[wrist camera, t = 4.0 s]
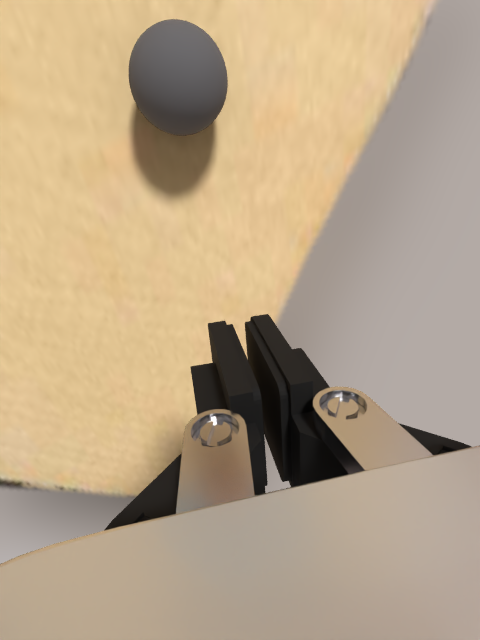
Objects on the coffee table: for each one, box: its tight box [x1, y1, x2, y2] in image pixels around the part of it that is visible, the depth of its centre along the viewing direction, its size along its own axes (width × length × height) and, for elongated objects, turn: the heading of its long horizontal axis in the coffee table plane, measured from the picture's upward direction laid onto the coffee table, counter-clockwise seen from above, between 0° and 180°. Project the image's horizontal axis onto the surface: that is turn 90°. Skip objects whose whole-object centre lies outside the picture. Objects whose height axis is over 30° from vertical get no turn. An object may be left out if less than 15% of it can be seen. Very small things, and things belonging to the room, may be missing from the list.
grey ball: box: [129, 19, 228, 135], centre depth 19 cm, size 5×5×5 cm
